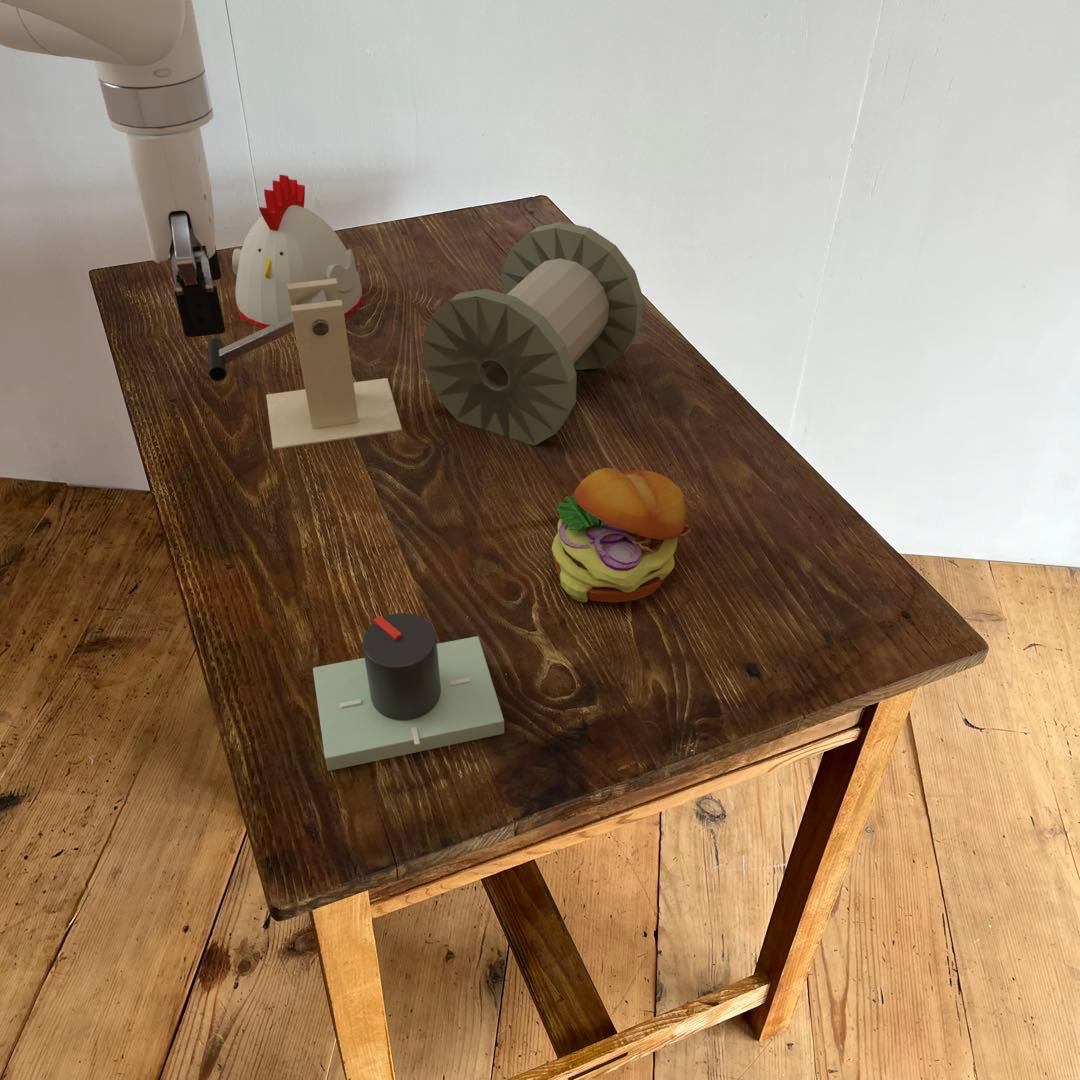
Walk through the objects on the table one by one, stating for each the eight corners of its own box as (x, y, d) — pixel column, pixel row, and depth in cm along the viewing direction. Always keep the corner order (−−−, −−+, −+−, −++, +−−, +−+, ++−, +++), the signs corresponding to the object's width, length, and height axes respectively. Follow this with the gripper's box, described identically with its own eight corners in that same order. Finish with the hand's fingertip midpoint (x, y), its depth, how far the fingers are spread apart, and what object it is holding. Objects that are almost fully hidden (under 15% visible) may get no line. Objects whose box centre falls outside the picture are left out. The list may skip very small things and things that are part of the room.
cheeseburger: (518, 571, 83) (538, 463, 78) (600, 534, 90) (624, 434, 85) (611, 633, 78) (639, 523, 73) (691, 589, 85) (722, 486, 80)
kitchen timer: (215, 328, 111) (184, 196, 101) (275, 271, 121) (252, 145, 111) (331, 348, 108) (311, 214, 98) (383, 288, 118) (369, 161, 108)
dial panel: (331, 791, 67) (325, 763, 65) (317, 689, 74) (311, 660, 72) (506, 753, 70) (506, 725, 68) (478, 657, 76) (477, 629, 74)
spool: (509, 341, 110) (507, 208, 100) (637, 378, 105) (648, 241, 95) (428, 420, 99) (417, 280, 89) (566, 465, 94) (571, 321, 84)
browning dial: (455, 693, 70) (451, 636, 66) (400, 732, 67) (393, 676, 63) (410, 655, 72) (404, 598, 68) (356, 692, 70) (346, 635, 66)
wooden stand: (274, 459, 94) (247, 328, 85) (268, 405, 100) (241, 278, 91) (403, 439, 96) (390, 310, 87) (388, 388, 103) (374, 262, 94)
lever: (217, 387, 90) (202, 367, 88) (215, 358, 93) (201, 338, 92) (340, 330, 89) (328, 308, 88) (334, 302, 93) (321, 281, 91)
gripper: (110, 66, 81) (160, 265, 92) (98, 143, 69) (157, 363, 80) (207, 60, 83) (244, 257, 94) (213, 135, 70) (255, 351, 81)
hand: (204, 305), depth 87 cm, fingers open, 9 cm apart
